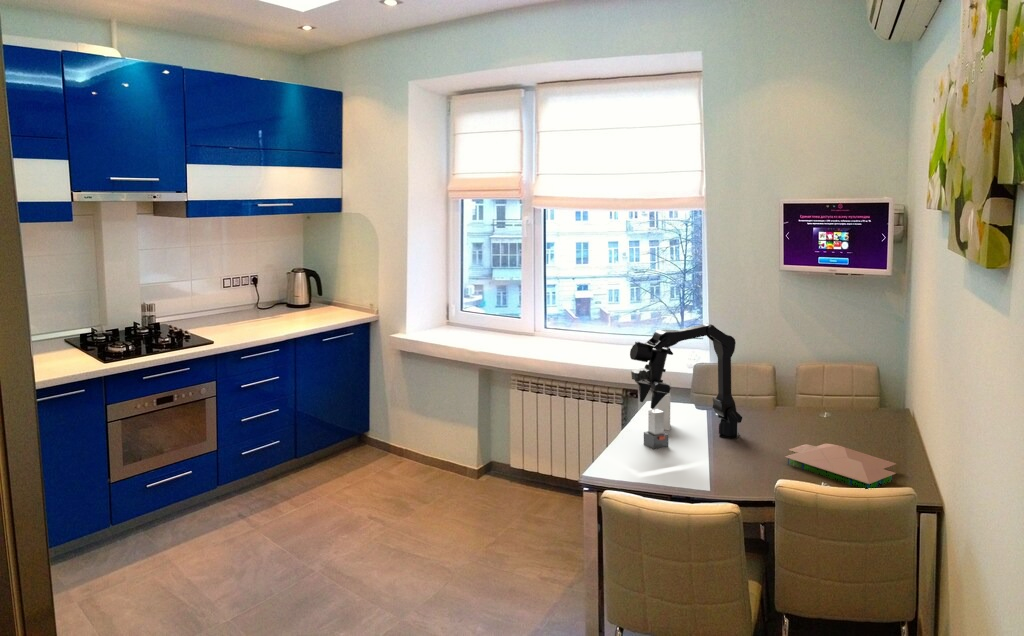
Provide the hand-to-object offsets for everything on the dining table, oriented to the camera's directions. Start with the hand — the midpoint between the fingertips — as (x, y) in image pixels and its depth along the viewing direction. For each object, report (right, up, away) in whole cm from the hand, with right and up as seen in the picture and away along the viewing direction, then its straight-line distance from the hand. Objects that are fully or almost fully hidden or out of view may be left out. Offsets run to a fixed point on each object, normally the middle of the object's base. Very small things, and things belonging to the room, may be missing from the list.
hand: (646, 405), depth 271 cm
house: (+60, -19, -26) cm, 68 cm away
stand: (+3, -16, -2) cm, 16 cm away
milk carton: (+9, -12, +20) cm, 26 cm away
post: (+3, -15, -2) cm, 15 cm away
